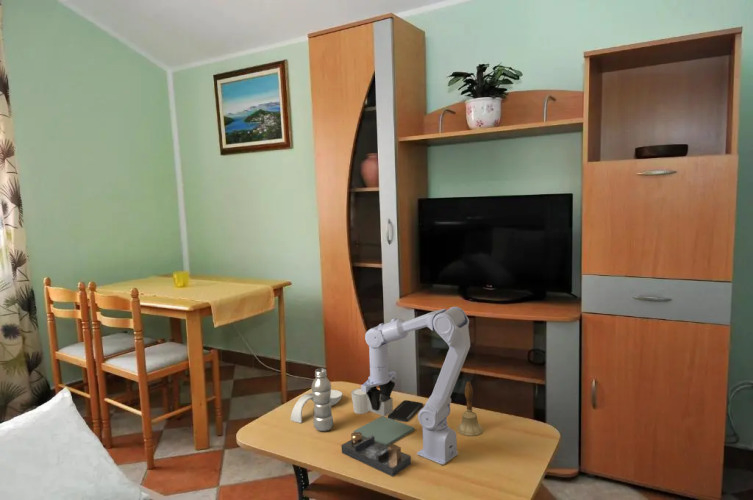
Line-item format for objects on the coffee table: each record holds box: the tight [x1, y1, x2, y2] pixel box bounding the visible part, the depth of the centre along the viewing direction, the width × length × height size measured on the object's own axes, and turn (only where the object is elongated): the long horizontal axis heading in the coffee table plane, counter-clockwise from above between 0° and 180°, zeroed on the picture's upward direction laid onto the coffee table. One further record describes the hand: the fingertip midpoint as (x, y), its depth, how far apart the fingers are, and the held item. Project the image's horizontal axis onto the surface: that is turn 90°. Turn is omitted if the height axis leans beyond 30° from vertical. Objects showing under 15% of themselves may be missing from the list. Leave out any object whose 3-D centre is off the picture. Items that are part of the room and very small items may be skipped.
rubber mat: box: [353, 415, 416, 447], centre depth 161 cm, size 14×14×1 cm
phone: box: [387, 399, 424, 423], centre depth 175 cm, size 8×1×15 cm
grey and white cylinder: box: [350, 387, 370, 415], centre depth 177 cm, size 7×7×7 cm
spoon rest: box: [290, 388, 344, 424], centre depth 179 cm, size 24×12×7 cm, turn 150°
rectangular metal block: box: [367, 394, 394, 417], centre depth 155 cm, size 7×4×4 cm, turn 47°
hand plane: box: [341, 431, 412, 478], centre depth 144 cm, size 20×8×6 cm, turn 48°
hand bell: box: [456, 381, 484, 437], centre depth 159 cm, size 8×8×16 cm
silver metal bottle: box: [310, 368, 334, 432], centre depth 163 cm, size 6×7×20 cm
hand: (380, 407), depth 155 cm, fingers closed on rectangular metal block, 4 cm apart
